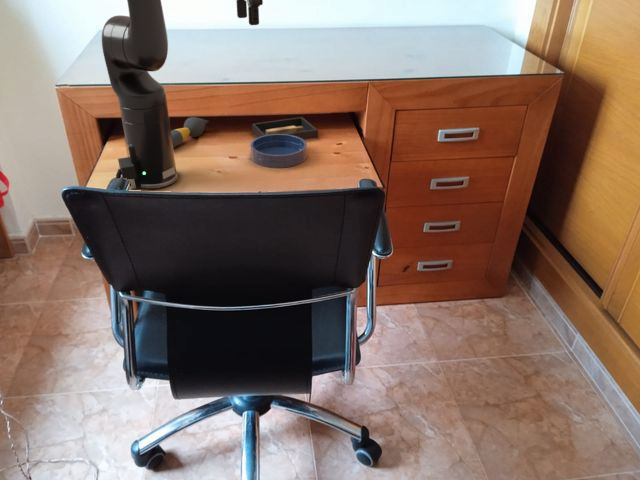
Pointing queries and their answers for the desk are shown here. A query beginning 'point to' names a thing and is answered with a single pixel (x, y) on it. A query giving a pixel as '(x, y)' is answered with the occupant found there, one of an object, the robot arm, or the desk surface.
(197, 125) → the paintbrush
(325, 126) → the desk surface
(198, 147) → the desk surface
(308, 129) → the pen tray
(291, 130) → the wooden stick
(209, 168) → the desk surface
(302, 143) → the bowl
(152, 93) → the robot arm
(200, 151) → the desk surface
